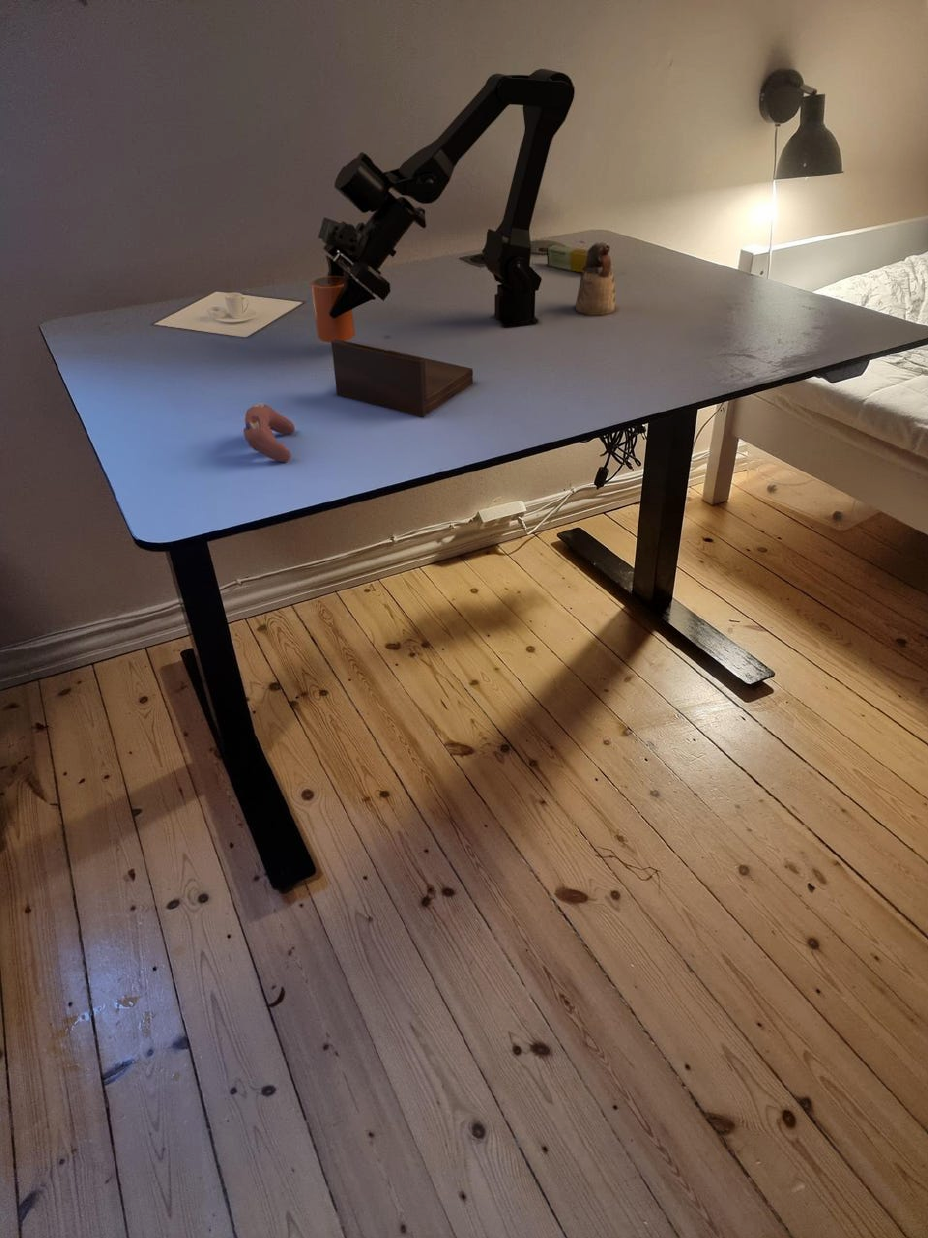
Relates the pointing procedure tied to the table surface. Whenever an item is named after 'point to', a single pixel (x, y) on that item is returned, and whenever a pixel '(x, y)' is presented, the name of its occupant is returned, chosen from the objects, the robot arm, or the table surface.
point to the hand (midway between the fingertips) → (325, 310)
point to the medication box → (566, 257)
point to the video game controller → (267, 431)
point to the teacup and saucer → (229, 314)
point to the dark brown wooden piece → (396, 378)
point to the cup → (323, 300)
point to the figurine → (597, 283)
